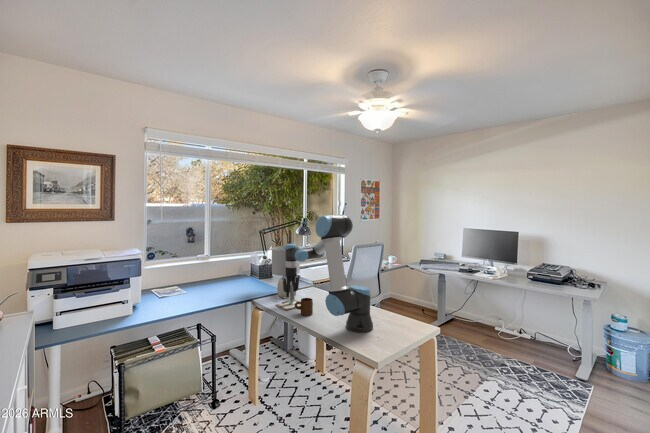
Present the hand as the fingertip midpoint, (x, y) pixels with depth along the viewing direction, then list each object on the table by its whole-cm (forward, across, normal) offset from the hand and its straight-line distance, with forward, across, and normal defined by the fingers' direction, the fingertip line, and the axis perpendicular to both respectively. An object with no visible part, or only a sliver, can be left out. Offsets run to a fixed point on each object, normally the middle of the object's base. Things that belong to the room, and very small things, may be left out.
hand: (291, 301), depth 212 cm
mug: (+3, +3, +19) cm, 19 cm away
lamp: (+3, -8, -19) cm, 21 cm away
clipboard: (+3, 0, 0) cm, 3 cm away
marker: (+2, 0, 0) cm, 2 cm away
